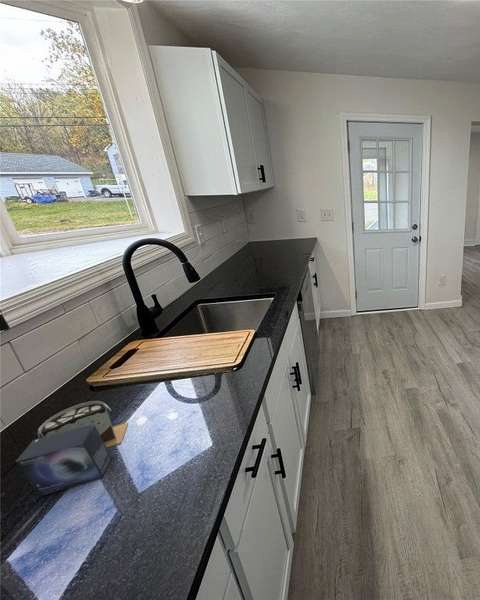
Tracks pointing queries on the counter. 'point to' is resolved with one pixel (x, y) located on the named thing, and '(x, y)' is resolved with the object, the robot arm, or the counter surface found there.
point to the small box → (65, 459)
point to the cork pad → (117, 435)
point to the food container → (80, 420)
